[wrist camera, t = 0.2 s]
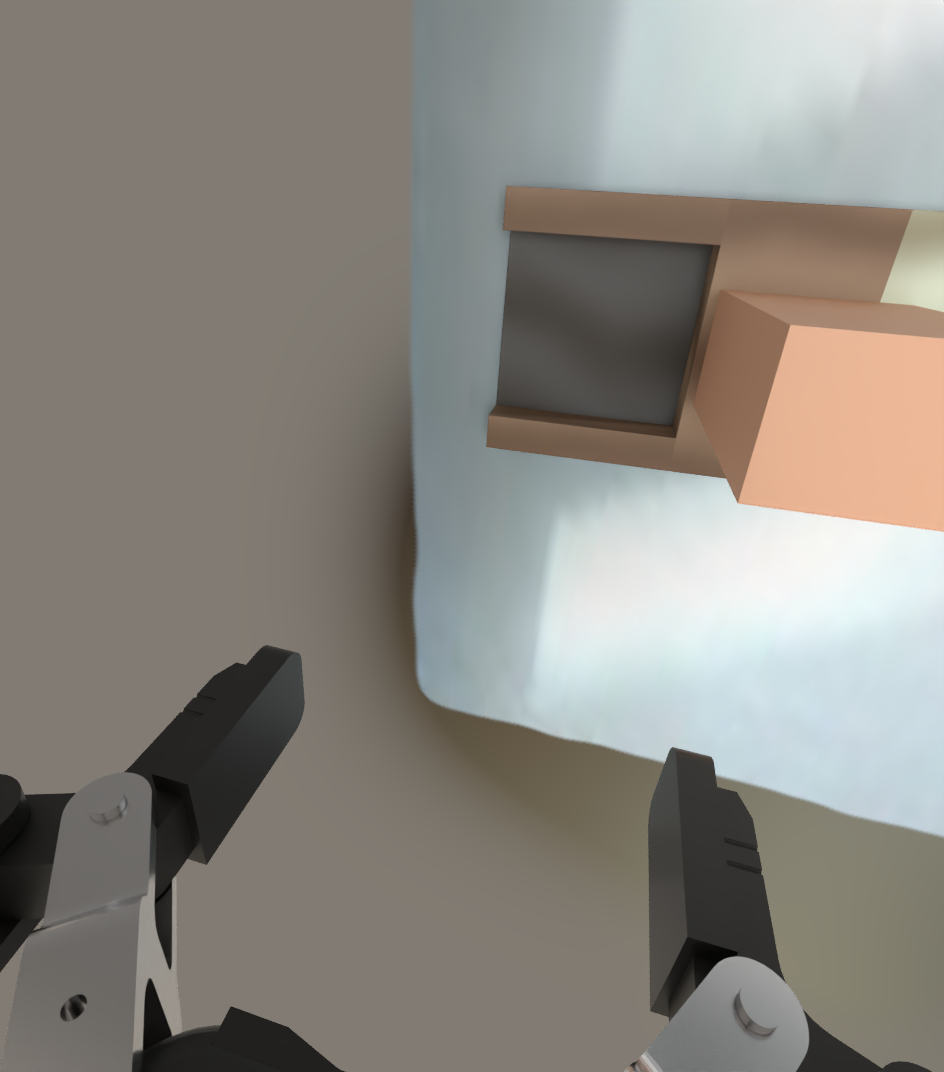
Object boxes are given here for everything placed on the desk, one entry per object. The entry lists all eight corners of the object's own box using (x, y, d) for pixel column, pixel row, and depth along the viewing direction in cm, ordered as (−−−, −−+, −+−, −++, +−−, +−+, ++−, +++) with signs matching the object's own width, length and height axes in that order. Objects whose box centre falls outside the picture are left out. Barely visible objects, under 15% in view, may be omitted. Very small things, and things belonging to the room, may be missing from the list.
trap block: (720, 289, 30) (790, 324, 18) (913, 305, 29) (1129, 355, 17) (693, 405, 33) (737, 503, 21) (867, 424, 32) (1025, 542, 20)
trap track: (515, 189, 33) (506, 185, 30) (1343, 239, 27) (1421, 239, 24) (495, 432, 39) (486, 447, 37) (1159, 517, 33) (1205, 541, 31)
